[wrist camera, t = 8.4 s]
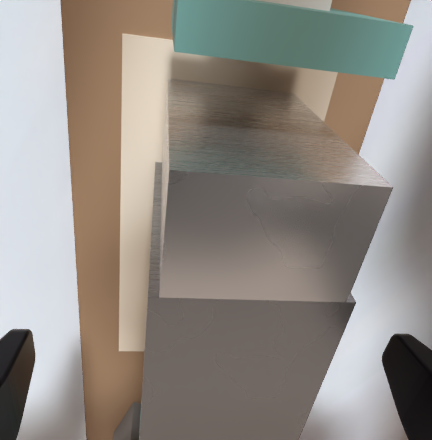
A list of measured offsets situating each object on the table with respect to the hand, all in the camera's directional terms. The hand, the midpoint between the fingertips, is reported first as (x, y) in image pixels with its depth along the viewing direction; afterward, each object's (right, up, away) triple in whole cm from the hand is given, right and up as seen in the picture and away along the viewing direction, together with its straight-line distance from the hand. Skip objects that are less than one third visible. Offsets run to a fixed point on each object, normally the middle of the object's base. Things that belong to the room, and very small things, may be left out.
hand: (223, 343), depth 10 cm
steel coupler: (0, +3, +4) cm, 5 cm away
